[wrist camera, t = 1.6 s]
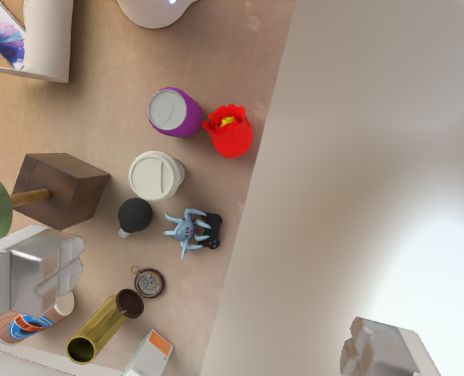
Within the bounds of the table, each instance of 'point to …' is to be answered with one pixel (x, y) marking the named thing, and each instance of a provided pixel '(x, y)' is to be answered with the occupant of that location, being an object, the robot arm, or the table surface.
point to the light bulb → (134, 216)
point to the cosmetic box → (149, 356)
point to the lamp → (53, 191)
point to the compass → (139, 292)
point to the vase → (95, 333)
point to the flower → (229, 131)
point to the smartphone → (11, 39)
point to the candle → (46, 40)
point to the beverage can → (174, 113)
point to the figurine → (187, 231)
